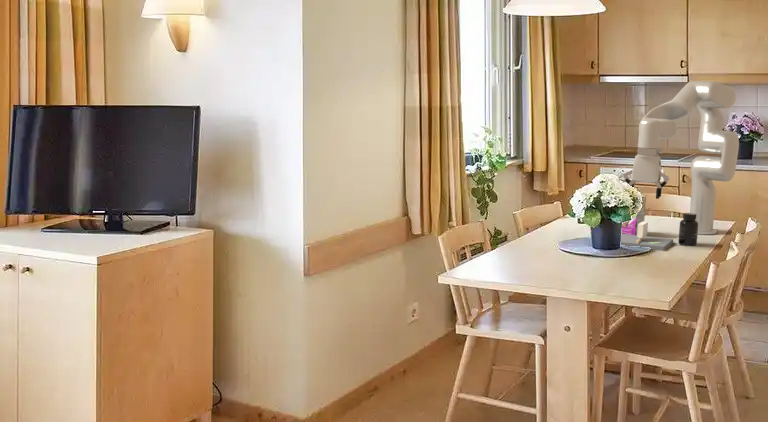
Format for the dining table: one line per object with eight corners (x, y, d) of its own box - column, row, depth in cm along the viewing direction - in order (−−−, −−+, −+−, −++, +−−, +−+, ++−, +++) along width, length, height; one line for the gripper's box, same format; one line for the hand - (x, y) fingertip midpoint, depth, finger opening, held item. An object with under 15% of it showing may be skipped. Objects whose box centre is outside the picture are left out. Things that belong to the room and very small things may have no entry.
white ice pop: (641, 237, 347) (642, 221, 347) (646, 237, 347) (648, 221, 346) (634, 242, 337) (635, 226, 336) (639, 242, 336) (640, 226, 335)
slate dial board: (621, 237, 356) (621, 233, 356) (673, 242, 347) (673, 238, 347) (609, 244, 341) (609, 240, 341) (663, 250, 331) (663, 246, 331)
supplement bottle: (698, 246, 341) (700, 215, 339) (679, 245, 342) (681, 214, 340) (695, 243, 347) (697, 212, 346) (677, 242, 349) (679, 211, 347)
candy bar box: (614, 232, 366) (616, 193, 363) (622, 231, 369) (624, 192, 366) (635, 237, 357) (638, 196, 354) (643, 236, 360) (646, 195, 357)
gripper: (673, 153, 337) (670, 198, 340) (627, 150, 346) (624, 194, 348) (669, 154, 331) (665, 200, 334) (622, 151, 339) (619, 196, 342)
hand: (644, 197), depth 341 cm, fingers open, 9 cm apart
